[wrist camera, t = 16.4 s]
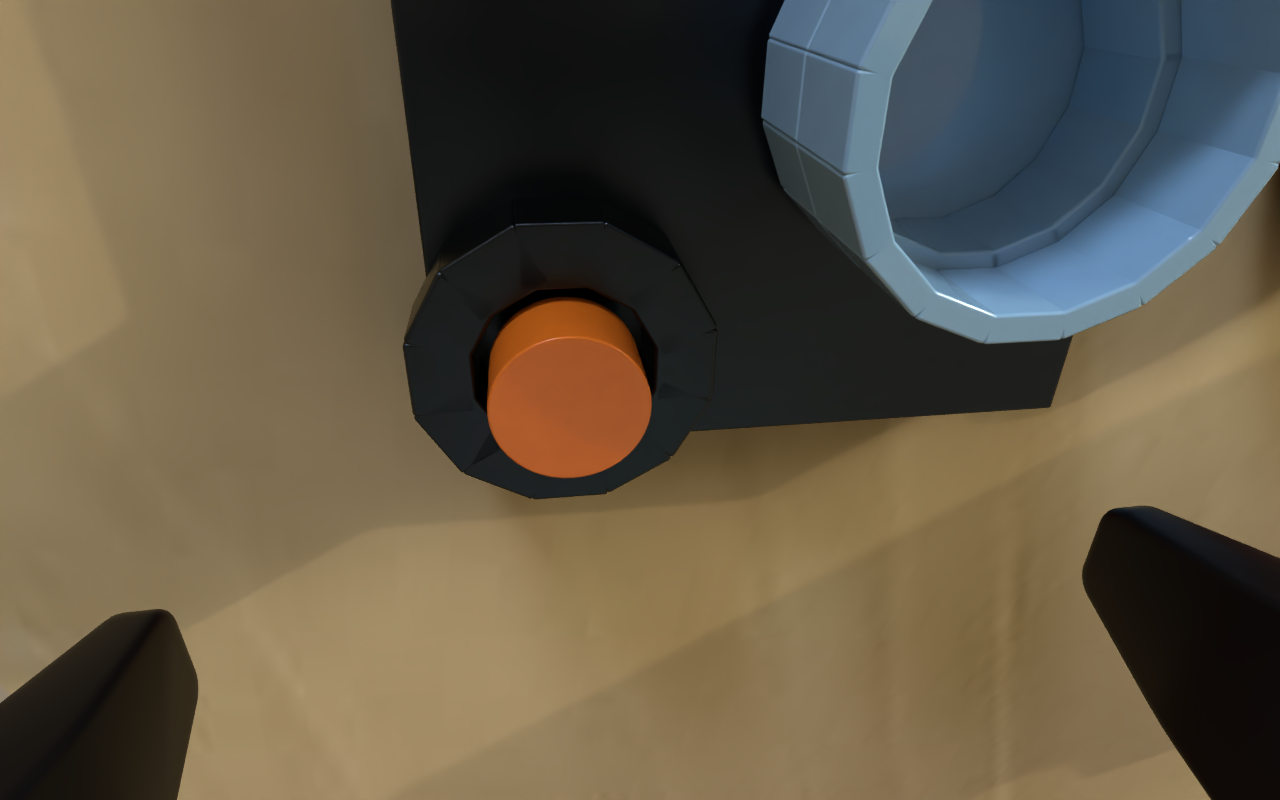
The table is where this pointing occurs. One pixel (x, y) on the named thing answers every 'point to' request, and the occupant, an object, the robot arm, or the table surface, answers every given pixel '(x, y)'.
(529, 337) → the button
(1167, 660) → the robot arm
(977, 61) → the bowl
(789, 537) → the table surface
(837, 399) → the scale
